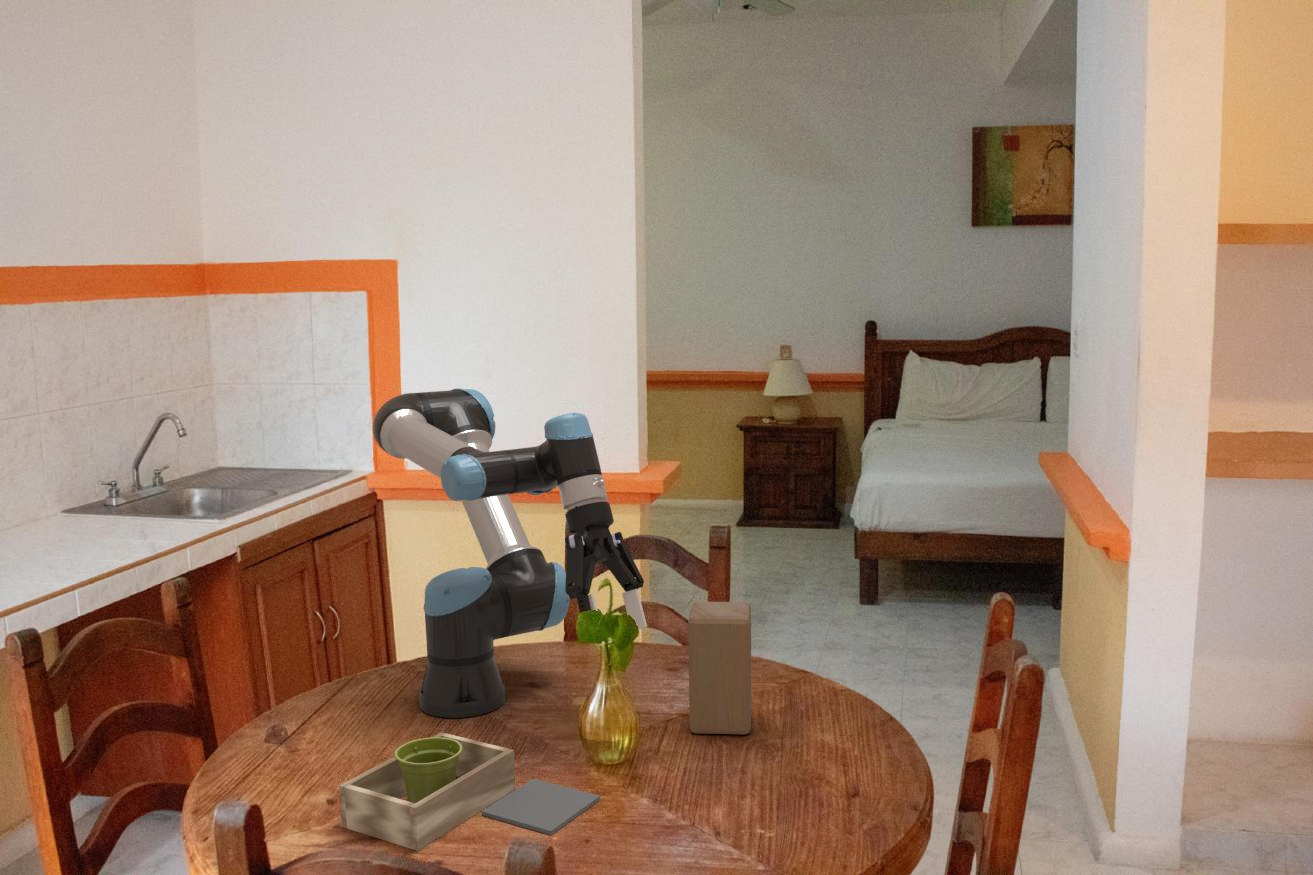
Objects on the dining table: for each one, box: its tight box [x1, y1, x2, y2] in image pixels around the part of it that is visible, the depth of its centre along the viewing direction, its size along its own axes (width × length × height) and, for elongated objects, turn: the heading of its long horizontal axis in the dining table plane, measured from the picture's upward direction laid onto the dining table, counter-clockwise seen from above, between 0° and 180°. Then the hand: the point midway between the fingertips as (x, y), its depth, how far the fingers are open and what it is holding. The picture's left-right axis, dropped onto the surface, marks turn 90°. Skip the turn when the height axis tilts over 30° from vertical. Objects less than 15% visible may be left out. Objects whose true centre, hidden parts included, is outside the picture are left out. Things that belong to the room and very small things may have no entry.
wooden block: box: [687, 601, 753, 735], centre depth 191 cm, size 10×10×20 cm
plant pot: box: [394, 736, 462, 803], centre depth 163 cm, size 9×9×9 cm
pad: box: [481, 778, 601, 836], centre depth 163 cm, size 12×12×1 cm
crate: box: [338, 731, 516, 852], centre depth 164 cm, size 14×21×6 cm, turn 149°
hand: (618, 633), depth 184 cm, fingers open, 13 cm apart
